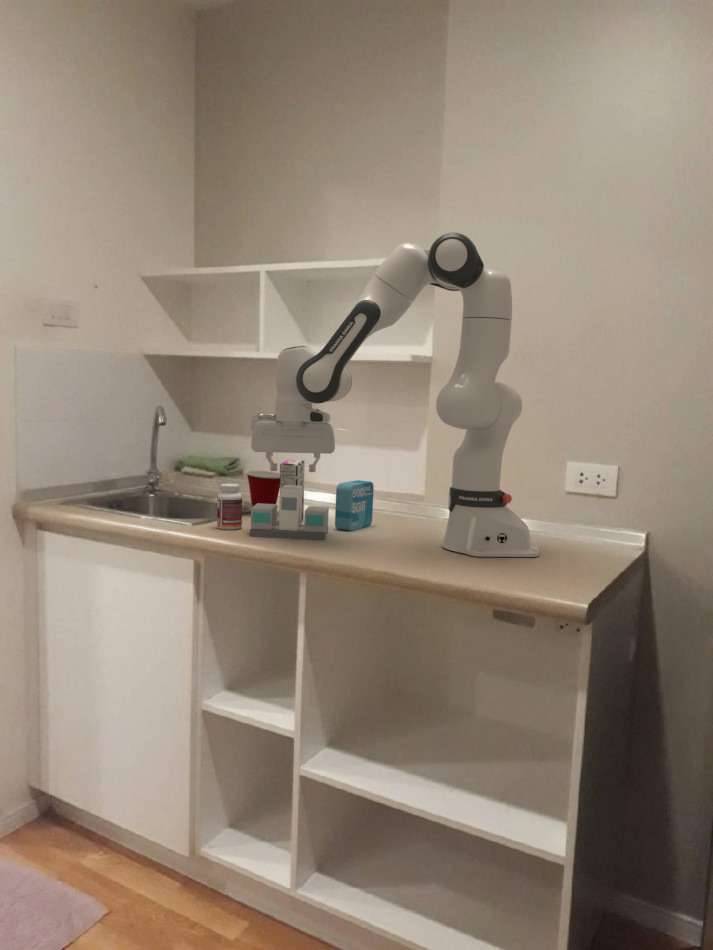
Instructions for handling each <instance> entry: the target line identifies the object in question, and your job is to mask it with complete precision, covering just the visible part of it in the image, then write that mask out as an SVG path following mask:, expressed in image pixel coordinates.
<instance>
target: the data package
mask: <svg viewBox="0 0 713 950" xmlns="http://www.w3.org/2000/svg"><path fill="white" fill-rule="evenodd" d="M374 487H375V485H374V482H372V481H370V480H369V481H368V480H360V479H357V480H356V479H355V480H351V481H345V482H339V483H338V484H337V486H336V488H335V489H336V491H335V492H336V493H335V509H334V510H335V514H334V515H335V516H334V525H335V529H337V530H342V531H349V532H352V531H353V532H354V531H358V530H360V529H361V530H362V529H364V528H367V527H370V526H371V525H372V523H373V512H374V509H373V508H374Z"/></svg>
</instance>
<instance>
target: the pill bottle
mask: <svg viewBox="0 0 713 950" xmlns="http://www.w3.org/2000/svg"><path fill="white" fill-rule="evenodd" d="M219 487H220V492H219V493H218V494H217V499H216V500H217V501H216V502H217V503H216V504H217V505H216V527H217V529H219V530H224V529H225V531H227V530H228V531H229V530H230V531H235V530H240V529H241V528H242V525H243V495H242V494H241V493H240V492H239V491H240V484H239V483H222V484H220V486H219Z"/></svg>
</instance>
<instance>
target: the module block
mask: <svg viewBox="0 0 713 950" xmlns="http://www.w3.org/2000/svg"><path fill="white" fill-rule="evenodd" d="M302 488H303V486H292V485H284V486H283V487H282V488H281V489H279V508H280V515H278V516H279V517H278V518H279V520H278V524H279V530H292V531H298V530H299V528H300V527H301V525H302V521H301V519H302Z"/></svg>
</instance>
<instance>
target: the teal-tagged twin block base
mask: <svg viewBox="0 0 713 950" xmlns="http://www.w3.org/2000/svg"><path fill="white" fill-rule="evenodd" d="M329 509H330V507H329V506H318V505H308V506H307V508H306V509H304V521H303V523H304V524H301V527H300V528H299V530H298V531H292V530H279V523H277V519H278V518H277V516H278V504H277V503H276V504H260V503H257V504H256V505H255V506H253V507H252V506H251V508H250V530H249V537H256V536H259V537H261V538H277V539H278V538H279V539H297V540H298V539H299V540H314V541H315V540H316V541H317V540H320V541H325V539H326V537H327V535H328V533H329ZM259 537H258V538H259Z"/></svg>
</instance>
